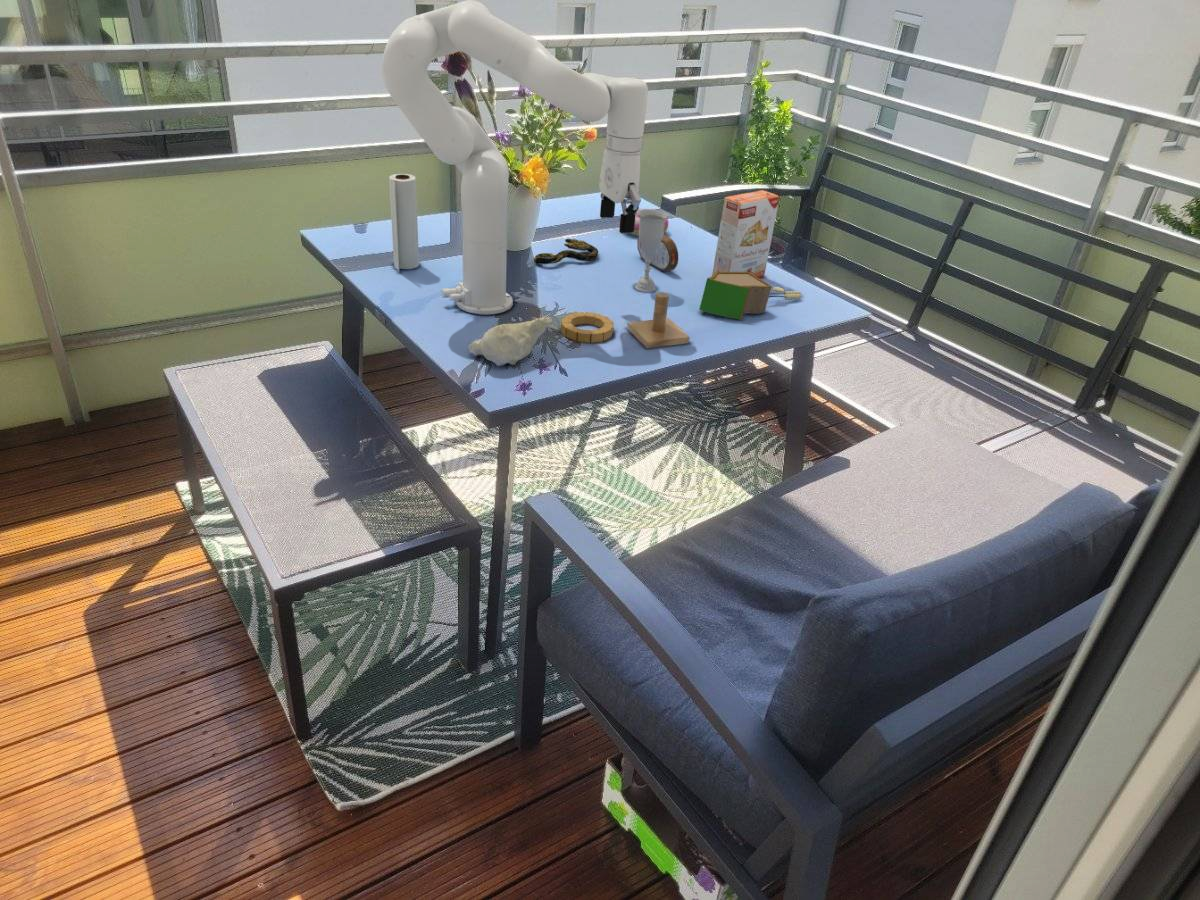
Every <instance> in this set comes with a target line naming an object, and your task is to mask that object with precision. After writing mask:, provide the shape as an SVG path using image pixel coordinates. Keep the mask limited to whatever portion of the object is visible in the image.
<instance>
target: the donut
mask: <svg viewBox="0 0 1200 900" xmlns="http://www.w3.org/2000/svg"><path fill="white" fill-rule="evenodd" d="M645 209H646V208H639V209H638V210H637V214H636V216H635V225H634V232H632V233H628V234H629V235H632V236H635V237H638V234H639V224H640V217H639V214H638V212H639V211H641V210H645ZM620 218H621V216H620V217H619V219H620ZM668 228H669V221H668V217H667V218H666V220H665V225H664V233H666V231H667V230H668Z"/></svg>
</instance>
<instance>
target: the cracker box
mask: <svg viewBox="0 0 1200 900" xmlns="http://www.w3.org/2000/svg"><path fill="white" fill-rule="evenodd" d="M780 198H781V196H779V195H777V194H776V193H772V192H769V191H767V190H764V189H762V190H755V191H751V192H746V193H739V194H735V195H729V196H725V197H724V199H723V204H722V205H723V206H722V212H721V218H720V225H719V229H718V230H719V231H718V237H717V242H716V250H715V255H714V261H713V267H712V268H713V269H712V274H711V277H712V276H713V275H714V274H715V273H716V271H717V270H719V272H750V273H751V274H753V275H755V276H756V277H758V278H759V279H761V278H764V277H765V274H766V269H767V264H768V260H769V255H770V249H771V244H772V239H773V234H774V229H775V225H776V219H777V214H778V208H779V203H780Z"/></svg>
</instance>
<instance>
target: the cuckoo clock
mask: <svg viewBox="0 0 1200 900" xmlns="http://www.w3.org/2000/svg"><path fill="white" fill-rule="evenodd" d="M772 291H773V292H772ZM774 292H776V293H774ZM769 298H784V299H785V300H800V299H801V298H802V292H801V291H799V290H798V291H797V290H795V291H794V290H792V291H791V290H787V291H786V290H785V289H784V288H782V287H779V286H774V287H773V285H771V284H770V283H768V282H766V281H764V280H763V279H761V278H758V277H756V276H755V275H753V274H751V273H750V272H719V270H717V271H716V273H715V274H714V275H713V276H712V275H711V276H708V277H707V278H706V281H705V285H704V290H703V294H702V296H701V302H700V305H699V310H700V311H702V312H705V313H708V314H713V315H716V316H721V317H725V318H730V319H735V320H739V321H742V319H743V316H744V314H757V315H758V314H764V313H765V312H766V309H767V305H768V302H769Z"/></svg>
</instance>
